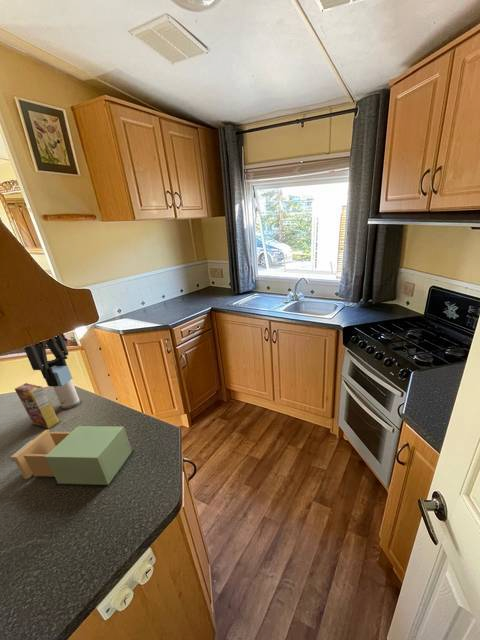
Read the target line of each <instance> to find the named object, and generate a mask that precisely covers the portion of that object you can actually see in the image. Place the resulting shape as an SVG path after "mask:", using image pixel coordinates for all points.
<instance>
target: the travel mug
mask: <svg viewBox="0 0 480 640" xmlns="http://www.w3.org/2000/svg"><path fill="white" fill-rule="evenodd" d="M56 360H58V359H56V358H54V359H51V360H47V361H48V368H51V367H53V366H57V365H56V363H55V361H56ZM53 389H54V392H55V395H56V396H57V400H58V402H59V404H60V406H61V408H62V409H72V408H74V407H77V406H78V405H79V404H80V403H81V400H80V397H79V395H78V393H77V390H76V387H75V385H74V382H73V379H71V380H70V381H69V382H67V383H66V384H64V385H63V386H57V387H53Z"/></svg>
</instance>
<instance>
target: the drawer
mask: <svg viewBox="0 0 480 640" xmlns="http://www.w3.org/2000/svg"><path fill="white" fill-rule="evenodd" d="M71 432H72V431H51V432H50V429H45V430H43V431H41V433H39V434H38V435H37V436H35V438H34V439H30V440H29V441H28V442H26V443H25V444H24V445H23V446H22V447H20V448H19V449H18V450H17V451H16V452H14V453H13V454H12V455H11V456H10V457H9V458H8V459H9V460H10V461H11V462H15V464H16V466H17V468H18V469H19V472H20V473H21V475H22V478H23V479H26V480H27V479H29V478H31V477H32V476H34V477H55V476H54V474H53V472H52V470H51V468H50V466H49V464H48V462H47V460H46V459H45V456H46V455H47V454H48V453H49V452H50V451H51V450H53V449H54V448H55V447H56V446H57V445H58V444H59V443H60V442H61V441H62V440H63V439H64V438H65V437H66V436H68V435H69V434H70V433H71Z"/></svg>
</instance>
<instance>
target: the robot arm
mask: <svg viewBox="0 0 480 640" xmlns="http://www.w3.org/2000/svg"><path fill="white" fill-rule="evenodd" d="M46 347H47V348H48V349H49V351H50V352H51V354H52V355H53V356H54V359H58V360H56V361H55V363H56V365H57V366H68V364H67V361H66V360H67V359H68V356H69V351H68V348H67V346H66V343H65V340H64V338H63V334H61V335H59V336H57V337H54V338H51V339H49V340H45V341H42V342H40V343H39V344H36V345H32V346H29V347H26V348H23V349H24V352H25V354H26V357H27V359H28V361H29V364H30V366H31V369H32V370H33V371H40V372H41V375H42V378H43V379H44V380H45V379H46V380H45V382H46V381H47V383H48V385H47V387H51V388H52V387H53V388H54V387H57V386H58V383H57V381H56V378H55V376H54V373H53V371H52V368H48V361H49V360H48V356H47V350H46ZM47 383H46V384H47Z"/></svg>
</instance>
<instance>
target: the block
mask: <svg viewBox="0 0 480 640" xmlns="http://www.w3.org/2000/svg"><path fill="white" fill-rule="evenodd" d="M51 368H52V371H53V373H54V376H55V378H56V381H57V383H58V386H63V385H64V384H66V383H67V382H69V381H70V380H73V376H72V374H71V370H70V369H69V366H68V365H67V366H53V367H51ZM44 380H45V382H46V385H47V386H48V383H47V381H46V379H44Z"/></svg>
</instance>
